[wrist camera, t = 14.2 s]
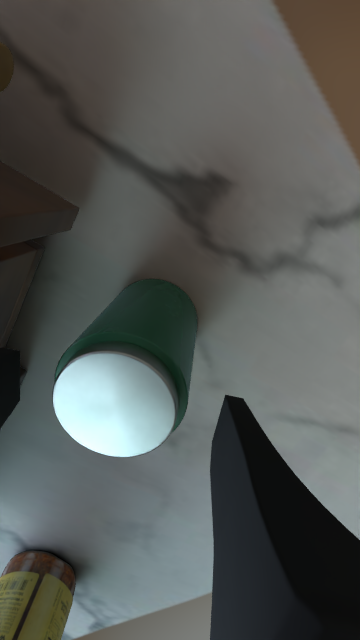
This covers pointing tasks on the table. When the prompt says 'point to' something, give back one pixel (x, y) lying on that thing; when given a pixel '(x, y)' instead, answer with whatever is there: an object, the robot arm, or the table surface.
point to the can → (129, 371)
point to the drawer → (23, 225)
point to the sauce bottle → (35, 597)
